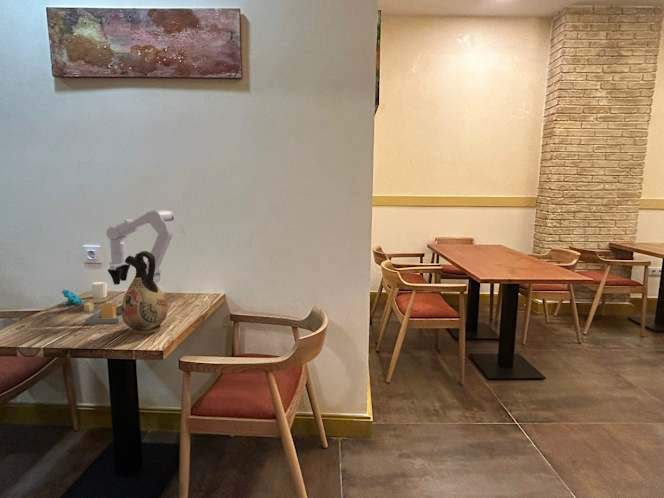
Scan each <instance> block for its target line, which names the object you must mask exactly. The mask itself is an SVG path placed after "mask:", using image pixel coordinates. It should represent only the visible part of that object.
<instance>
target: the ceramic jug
mask: <svg viewBox="0 0 664 498" xmlns="http://www.w3.org/2000/svg"><path fill="white" fill-rule="evenodd" d="M144 258H146V259H147V260H148V262H149V268H148V275H147V272H146V269H147V265H146V263H147V262H146V261H145V259H144ZM125 263H127V264H126V265H130V266H131V267H133V268H134V269H135V276H134V277H133V280H132V282H131V283H130V285H129V286H128V288H127V290H126V292H125V294H124V297H123V300H122V303H121V309H122V310H121V311H122V314H121V315H122V318H123V320H122V321H123V322H124V324H125V325H127V326H128V327H129V328H130V329H131V330H132V331H133V333H134V334H136V335H137V334H138V335H140V334H141V335H143V334H144V335H146V334H151V333H156V332H158V331H160V329H162V326H161V325H162V324H163V322H164V321H165V320H166V318H167V315H168V310H169V309H168V303H167V299H166V297H165V295H163V293H162V291H161V290H160V289H159V287H158V286H159V285H158V284H157V285H158V286H157V285H156V283H154V281H153V278H154V272H155V257H154V256H153V255H152V254H151V252H150V251H148V250H147V251H146V250H143V251H140V252H138V253H136V254H135V256H132V255H128V256H126V260H125Z"/></svg>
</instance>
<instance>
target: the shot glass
mask: <svg viewBox="0 0 664 498" xmlns="http://www.w3.org/2000/svg"><path fill="white" fill-rule="evenodd" d="M90 286H91V292H92V298H93V299H104V298H103V297H105V298H106V296H108V282H107V281H95V282H91V283H90Z"/></svg>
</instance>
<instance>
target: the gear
mask: <svg viewBox="0 0 664 498" xmlns="http://www.w3.org/2000/svg"><path fill="white" fill-rule="evenodd" d="M61 294H63V297H64V298H66V299H67V301H66V302H65V303H64V304H63V306H68V305H69V304H70V303H72V304H76V305H77V306H80V305H84V301H83V300H82V298H79V295H78V294H76V293H75V294H74V292H72V291H71V292H70V290H68V289H63V290H62V291H61Z"/></svg>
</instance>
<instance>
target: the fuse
mask: <svg viewBox="0 0 664 498" xmlns="http://www.w3.org/2000/svg"><path fill="white" fill-rule="evenodd" d="M116 306H117V303H116V302H112V303H106V302H103V303H102V304H100V305H99V307H100V309H101V315H100V318H118V317H117V315H118V314H116V310H117V308H116Z"/></svg>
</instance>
